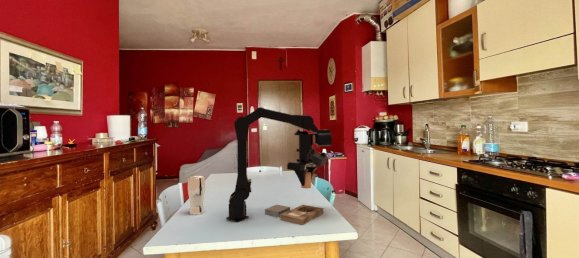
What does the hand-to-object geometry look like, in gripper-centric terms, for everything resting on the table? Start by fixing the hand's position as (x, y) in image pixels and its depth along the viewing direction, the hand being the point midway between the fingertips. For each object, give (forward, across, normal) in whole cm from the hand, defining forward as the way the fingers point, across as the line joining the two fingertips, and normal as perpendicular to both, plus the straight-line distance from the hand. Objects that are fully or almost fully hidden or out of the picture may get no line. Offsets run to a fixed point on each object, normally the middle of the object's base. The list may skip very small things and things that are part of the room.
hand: (306, 184), depth 112 cm
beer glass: (+12, -23, +40) cm, 48 cm away
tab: (+12, -5, +11) cm, 17 cm away
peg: (+1, 0, 0) cm, 1 cm away
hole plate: (+12, -3, 0) cm, 12 cm away
